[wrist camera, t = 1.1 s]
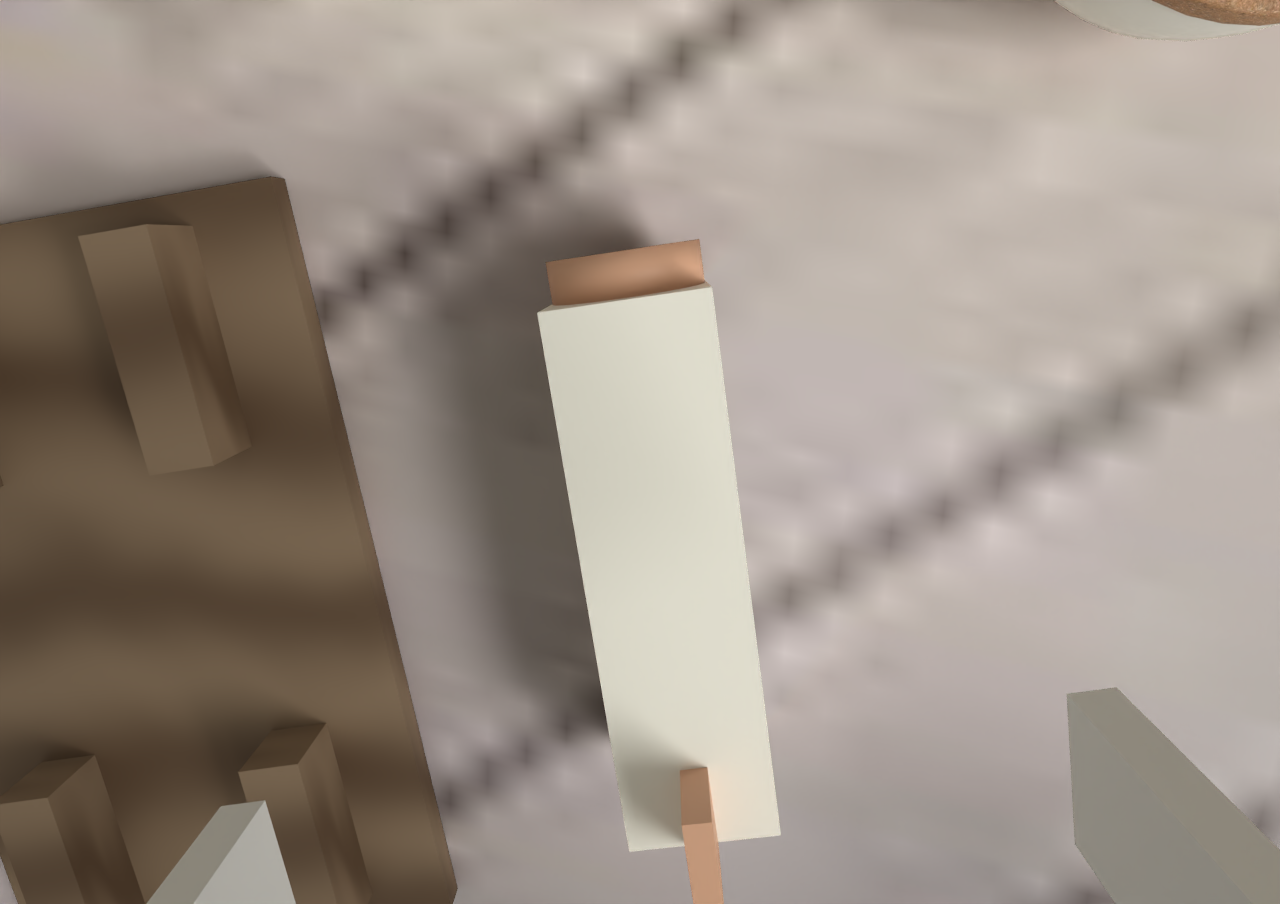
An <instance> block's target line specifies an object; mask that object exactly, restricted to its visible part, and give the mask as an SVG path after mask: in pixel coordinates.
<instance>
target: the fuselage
mask: <svg viewBox="0 0 1280 904" xmlns="http://www.w3.org/2000/svg"><path fill="white" fill-rule="evenodd" d="M546 268H547V274H548V280H549V286H550V292H551V298H552V305H550V306H548V307H546V308H545V309H543V310H541V311H539V312H538V313H537V315H538V321H539V327H540V332H541V338H542V344H543V350H544V356H545V362H546V368H547V373H548V379H549V385H550V391H551V397H552V403H553V409H554V414H555V420H556V426H557V432H558V438H559V444H560V449H561V455H562V461H563V467H564V473H565V479H566V485H567V490H568V496H569V502H570V508H571V514H572V520H573V526H574V531H575V537H576V543H577V549H578V555H579V561H580V566H581V572H582V578H583V584H584V590H585V596H586V602H587V607H588V613H589V619H590V625H591V631H592V637H593V643H594V648H595V654H596V660H597V666H598V672H599V678H600V683H601V689H602V695H603V701H604V707H605V713H606V719H607V724H608V730H609V736H610V742H611V748H612V754H613V760H614V765H615V771H616V777H617V783H618V789H619V795H620V800H621V806H622V812H623V818H624V824H625V830H626V836H627V841H628V847H629V852H633V851H642V850H651V849H661V848H670V847H679V846H685V851H686V858H687V864H688V871H689V877H690V884H691V890H692V897H693V903H694V904H724V901H723V890H722V879H721V868H720V857H719V845H718V842H724V841H733V840H743V839H752V838H761V837H770V836H779V835H781V832H780V824H779V816H778V808H777V800H776V792H775V784H774V776H773V769H772V761H771V753H770V745H769V737H768V729H767V721H766V713H765V705H764V697H763V689H762V681H761V673H760V665H759V657H758V649H757V641H756V633H755V625H754V618H753V610H752V602H751V594H750V586H749V578H748V570H747V562H746V554H745V546H744V538H743V530H742V522H741V514H740V506H739V498H738V490H737V482H736V474H735V467H734V459H733V451H732V443H731V435H730V427H729V419H728V411H727V403H726V395H725V387H724V379H723V371H722V363H721V355H720V347H719V339H718V331H717V323H716V316H715V308H714V300H713V292H712V287H711V286H710V285H709V284H708V283H707V282H706V281H705V280H704V273H703V265H702V257H701V249H700V241H699V239H697V240H690V241H683V242H676V243H669V244H663V245H656V246H649V247H642V248H636V249H629V250H622V251H616V252H609V253H602V254H596V255H589V256H583V257H576V258H570V259H563V260H557V261H550V262H546Z"/></svg>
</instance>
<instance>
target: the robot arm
mask: <svg viewBox="0 0 1280 904" xmlns="http://www.w3.org/2000/svg"><path fill="white" fill-rule="evenodd" d="M1067 707H1068V726H1069V744H1070V763H1071V781H1072V800H1073V818H1074V837H1075V845H1076V846H1077V848H1078V849H1079V851H1080V852H1081V854H1082V855H1083V857H1084V858H1085V860H1086V861H1087V863H1088V864H1089V865H1090V867H1091V868H1092V870H1093V871H1094V873H1095V874H1096V876H1097V877H1098V879H1099V880H1100V882H1101V883H1102V885H1103V886H1104V887H1105V889H1106V890H1107V892H1108V893H1109V895H1110V896H1111V898H1112V899H1113V901H1114V902H1115V904H1280V850H1279V849H1278V848H1277V847H1276V846H1275V845H1274V844H1273V843H1272V842H1271V841H1270V840H1269V839H1268V838H1267V837H1266V836H1265V835H1264V834H1263V833H1262V832H1261V831H1260V830H1259V829H1258V828H1257V827H1256V826H1255V825H1254V824H1253V823H1252V822H1251V821H1250V820H1249V819H1248V818H1247V817H1246V816H1245V815H1244V814H1243V813H1242V812H1241V811H1240V810H1239V809H1238V808H1237V807H1236V806H1235V805H1234V804H1233V803H1232V802H1231V801H1230V800H1229V799H1228V798H1227V797H1226V796H1225V795H1224V794H1223V793H1222V792H1221V791H1220V790H1219V789H1218V788H1217V787H1216V786H1215V785H1214V784H1213V783H1212V782H1211V781H1210V780H1209V779H1208V778H1207V777H1206V776H1205V775H1204V774H1203V773H1202V772H1201V771H1200V770H1199V769H1198V768H1197V767H1196V766H1195V765H1194V764H1193V763H1192V762H1191V761H1190V760H1189V759H1188V758H1187V757H1186V756H1185V755H1184V754H1183V753H1182V752H1181V751H1180V750H1179V749H1178V748H1177V747H1176V746H1175V745H1174V744H1173V743H1172V742H1171V741H1170V740H1169V739H1168V738H1167V737H1166V736H1165V735H1164V734H1163V733H1162V732H1161V731H1160V730H1159V729H1158V728H1157V727H1156V726H1155V725H1154V724H1153V723H1152V722H1151V721H1149V720H1148V719H1147V718H1146V717H1145V716H1144V715H1143V714H1142V713H1141V712H1140V711H1139V710H1138V709H1137V708H1136V707H1135V706H1134V705H1133V704H1132V703H1131V702H1130V701H1129V700H1128V699H1127V698H1126V697H1125V696H1124V695H1123V694H1122V693H1121V692H1120V691H1119V690H1118V689H1117V688H1109V689H1101V690H1094V691H1086V692H1078V693H1071V694H1067ZM147 904H296V902H295V899H294V896H293V892H292V889H291V886H290V882H289V879H288V876H287V872H286V869H285V865H284V862H283V859H282V855H281V852H280V849H279V845H278V842H277V839H276V835H275V832H274V829H273V825H272V822H271V818H270V815H269V812H268V808H267V805H266V802H265V800H264V801H257V802H249V803H242V804H234V805H226V806H221V807H220V808H219V809H218V811H217V812H216V813H215V815H214V816H213V817H212V819H211V820H210V821H209V822H208V824H207V825H206V826H205V828H204V829H203V830H202V832H201V833H200V834H199V836H198V837H197V838H196V839H195V841H194V842H193V843H192V845H191V846H190V847H189V849H188V850H187V851H186V853H185V854H184V855H183V856H182V858H181V859H180V860H179V862H178V863H177V864H176V866H175V867H174V868H173V870H172V871H171V872H170V873H169V875H168V876H167V877H166V879H165V880H164V881H163V883H162V884H161V885H160V887H159V888H158V889H157V890H156V892H155V893H154V894H153V896H152V897H151V898H150V900H149V901H148V902H147Z"/></svg>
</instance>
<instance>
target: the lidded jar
mask: <svg viewBox="0 0 1280 904" xmlns="http://www.w3.org/2000/svg"><path fill="white" fill-rule="evenodd" d="M1054 1H1055V2H1056V3H1057V4H1059V5H1060V6H1062V7H1063V8H1065V9H1066V10H1068V11H1069V12H1071V13H1072V14H1074V15H1075V16H1077V17H1078V18H1080V19H1082V20H1084V21H1086V22H1088V23H1090V24H1093V25H1095V26H1097V27H1100V28H1102V29H1104V30H1107V31H1109V32H1111V33H1116V34H1120V35H1124V36H1129V37H1133V38H1137V39H1150V40H1168V41H1195V40H1204V39H1213V38H1222V37H1229V36H1236V35H1243V34H1246V33H1250V32H1254V31H1257V30H1261V29H1265V28H1268V27H1272V26H1275V25H1279V24H1280V0H1054Z"/></svg>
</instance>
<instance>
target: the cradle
mask: <svg viewBox="0 0 1280 904" xmlns="http://www.w3.org/2000/svg"><path fill="white" fill-rule="evenodd" d="M264 800H265V802H266V805H267V808H268V812H269V815H270V818H271V822H272V825H273V829H274V832H275V835H276V839H277V842H278V845H279V849H280V852H281V855H282V859H283V862H284V865H285V869H286V872H287V876H288V879H289V882H290V886H291V889H292V892H293V896H294V899H295V902H296V904H453V901H454V898H455V895H456V892H457V889H458V888H457V884H456V880H455V876H454V872H453V868H452V864H451V859H450V855H449V851H448V847H447V843H446V839H445V835H444V831H443V827H442V823H441V818H440V814H439V810H438V806H437V802H436V798H435V794H434V790H433V786H432V782H431V777H430V773H429V769H428V765H427V761H426V757H425V753H424V749H423V745H422V741H421V736H420V732H419V728H418V724H417V720H416V716H415V712H414V708H413V704H412V700H411V695H410V691H409V687H408V683H407V679H406V675H405V671H404V667H403V663H402V659H401V654H400V650H399V646H398V642H397V638H396V634H395V630H394V626H393V622H392V618H391V613H390V609H389V605H388V601H387V597H386V593H385V589H384V585H383V581H382V577H381V572H380V568H379V564H378V560H377V556H376V552H375V548H374V544H373V540H372V536H371V532H370V527H369V523H368V519H367V515H366V511H365V507H364V503H363V499H362V495H361V491H360V486H359V482H358V478H357V474H356V470H355V466H354V462H353V458H352V454H351V450H350V445H349V441H348V437H347V433H346V429H345V425H344V421H343V417H342V413H341V409H340V404H339V400H338V396H337V392H336V388H335V384H334V380H333V376H332V372H331V368H330V363H329V359H328V355H327V351H326V347H325V343H324V339H323V335H322V331H321V327H320V322H319V318H318V314H317V310H316V306H315V302H314V298H313V294H312V290H311V286H310V281H309V277H308V273H307V269H306V265H305V261H304V257H303V253H302V249H301V245H300V240H299V236H298V232H297V228H296V224H295V220H294V216H293V212H292V208H291V204H290V199H289V195H288V191H287V187H286V183H285V179H282V178H276V177H266V178H260V179H255V180H249V181H243V182H238V183H232V184H226V185H221V186H215V187H210V188H204V189H198V190H193V191H187V192H181V193H176V194H170V195H164V196H159V197H153V198H148V199H142V200H136V201H131V202H125V203H119V204H114V205H108V206H102V207H97V208H91V209H86V210H80V211H74V212H69V213H63V214H57V215H52V216H46V217H40V218H35V219H29V220H24V221H18V222H12V223H7V224H1V225H0V857H1V859H2V862H3V865H4V867H5V870H6V873H7V875H8V878H9V881H10V883H11V886H12V889H13V891H14V894H15V897H16V899H17V902H18V904H147V902H148V901H149V900H150V898H151V897H152V896H153V894H154V893H155V892H156V890H157V889H158V888H159V887H160V885H161V884H162V883H163V881H164V880H165V879H166V877H167V876H168V875H169V873H170V872H171V871H172V870H173V868H174V867H175V866H176V864H177V863H178V862H179V860H180V859H181V858H182V856H183V855H184V854H185V853H186V851H187V850H188V849H189V847H190V846H191V845H192V843H193V842H194V841H195V839H196V838H197V837H198V836H199V834H200V833H201V832H202V830H203V829H204V828H205V826H206V825H207V824H208V822H209V821H210V820H211V819H212V817H213V816H214V815H215V813H216V812H217V811H218V809H219V808H220V807H221V806H226V805H234V804H242V803H249V802H257V801H264Z"/></svg>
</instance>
